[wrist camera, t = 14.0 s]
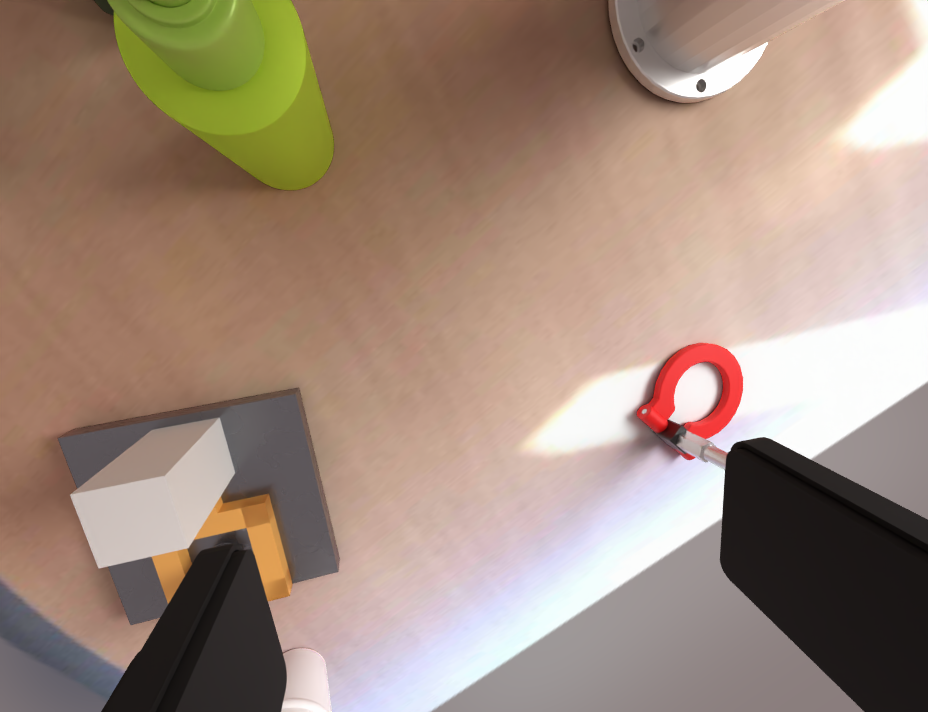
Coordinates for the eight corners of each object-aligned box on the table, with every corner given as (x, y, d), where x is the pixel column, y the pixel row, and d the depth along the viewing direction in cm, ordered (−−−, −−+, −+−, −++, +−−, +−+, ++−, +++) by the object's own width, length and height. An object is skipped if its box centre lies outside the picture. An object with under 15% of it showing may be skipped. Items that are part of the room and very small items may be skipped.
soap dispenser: (366, 140, 28) (361, -110, 9) (283, 210, 28) (103, 106, 9) (298, 54, 26) (116, -476, 7) (210, 129, 26) (-209, -214, 7)
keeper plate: (73, 429, 28) (-46, 498, 20) (299, 387, 31) (274, 434, 22) (141, 608, 32) (62, 729, 23) (339, 558, 34) (330, 652, 26)
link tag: (122, 435, 27) (27, 503, 20) (247, 412, 29) (203, 468, 21) (182, 611, 31) (120, 728, 23) (292, 583, 32) (268, 685, 24)
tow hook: (693, 321, 37) (625, 409, 37) (865, 346, 24) (763, 477, 24) (748, 380, 39) (685, 461, 39) (930, 428, 27) (838, 548, 27)
